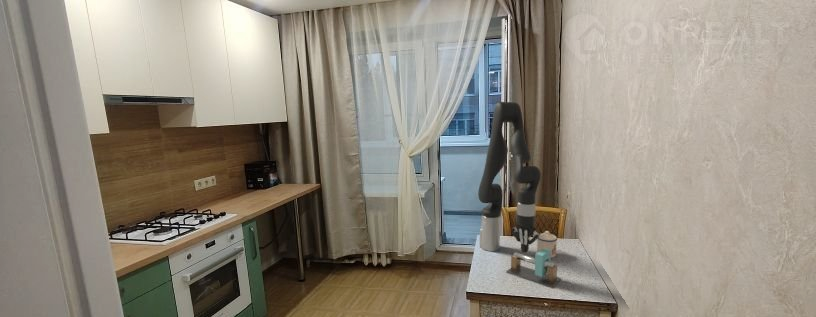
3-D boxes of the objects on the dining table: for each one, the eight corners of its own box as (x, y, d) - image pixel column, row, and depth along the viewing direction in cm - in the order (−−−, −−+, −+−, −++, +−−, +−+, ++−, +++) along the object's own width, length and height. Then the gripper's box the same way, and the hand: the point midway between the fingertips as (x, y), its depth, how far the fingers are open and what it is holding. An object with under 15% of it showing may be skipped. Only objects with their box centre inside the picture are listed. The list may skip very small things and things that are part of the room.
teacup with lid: (556, 259, 169) (557, 235, 167) (535, 256, 173) (536, 233, 171) (556, 250, 180) (557, 227, 178) (537, 247, 184) (538, 225, 182)
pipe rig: (506, 272, 157) (506, 254, 156) (516, 265, 163) (516, 248, 162) (551, 288, 143) (552, 267, 142) (561, 280, 149) (561, 260, 148)
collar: (534, 274, 148) (535, 253, 147) (543, 268, 154) (544, 248, 152) (541, 276, 146) (542, 255, 145) (550, 270, 152) (550, 250, 150)
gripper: (507, 211, 154) (506, 250, 157) (536, 218, 145) (535, 259, 148) (515, 208, 159) (514, 245, 162) (545, 214, 150) (543, 253, 153)
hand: (524, 251), depth 155 cm, fingers closed
